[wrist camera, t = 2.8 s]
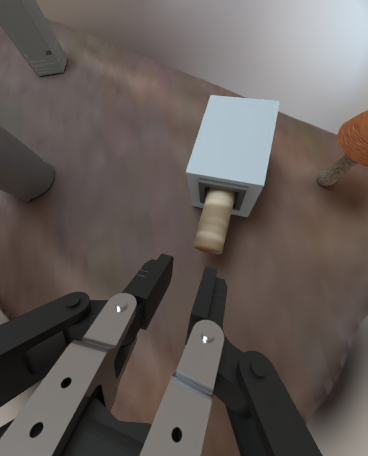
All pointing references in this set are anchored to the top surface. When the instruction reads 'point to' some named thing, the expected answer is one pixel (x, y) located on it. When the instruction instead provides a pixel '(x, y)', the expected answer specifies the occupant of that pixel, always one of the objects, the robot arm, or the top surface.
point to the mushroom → (348, 149)
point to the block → (232, 150)
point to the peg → (214, 221)
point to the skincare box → (32, 36)
